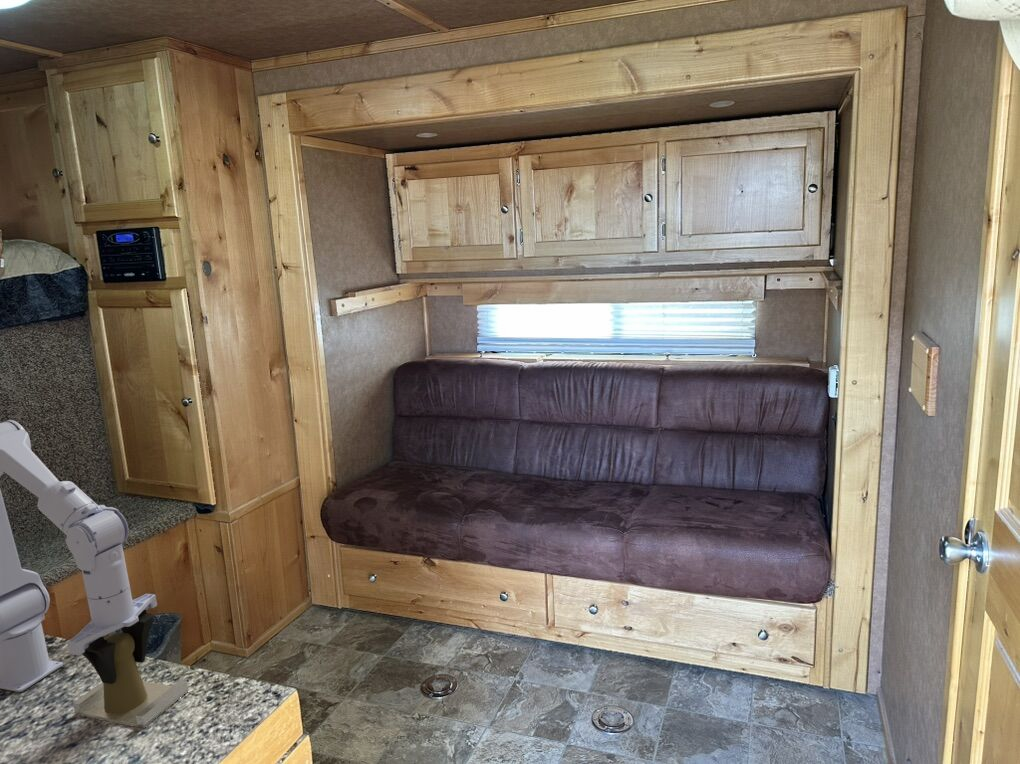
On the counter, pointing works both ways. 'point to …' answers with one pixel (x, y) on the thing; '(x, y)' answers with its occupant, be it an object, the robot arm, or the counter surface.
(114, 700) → the brown rounded piece
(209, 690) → the counter surface
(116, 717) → the bottom track
